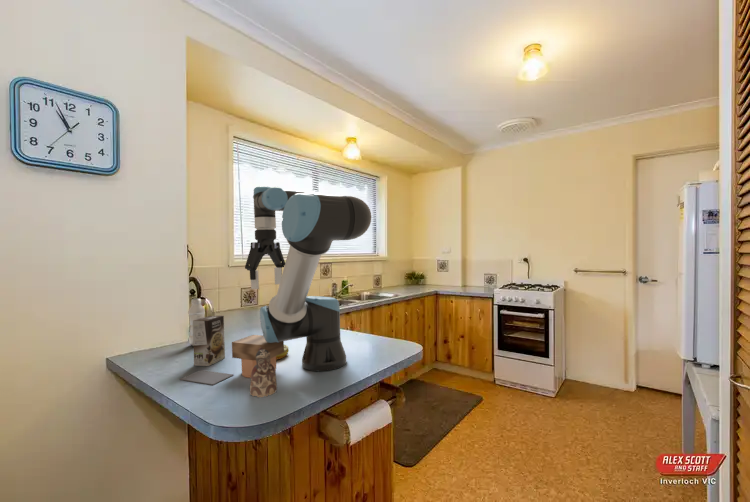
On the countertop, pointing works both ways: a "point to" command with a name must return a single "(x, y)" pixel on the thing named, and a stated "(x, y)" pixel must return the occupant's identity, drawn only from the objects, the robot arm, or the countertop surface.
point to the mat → (206, 377)
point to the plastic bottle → (195, 315)
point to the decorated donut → (283, 353)
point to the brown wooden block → (255, 347)
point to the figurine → (263, 375)
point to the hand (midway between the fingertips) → (267, 286)
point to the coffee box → (208, 340)
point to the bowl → (249, 365)
